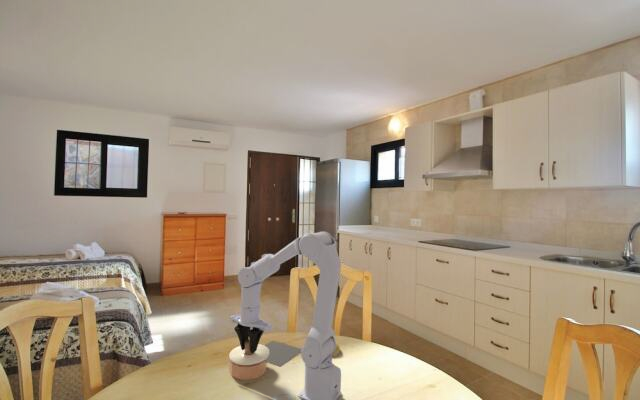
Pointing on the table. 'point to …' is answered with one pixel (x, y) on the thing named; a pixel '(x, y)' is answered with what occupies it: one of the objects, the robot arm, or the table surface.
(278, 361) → the mat
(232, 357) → the lid
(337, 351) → the bread roll
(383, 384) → the table surface
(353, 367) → the table surface
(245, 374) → the bowl
